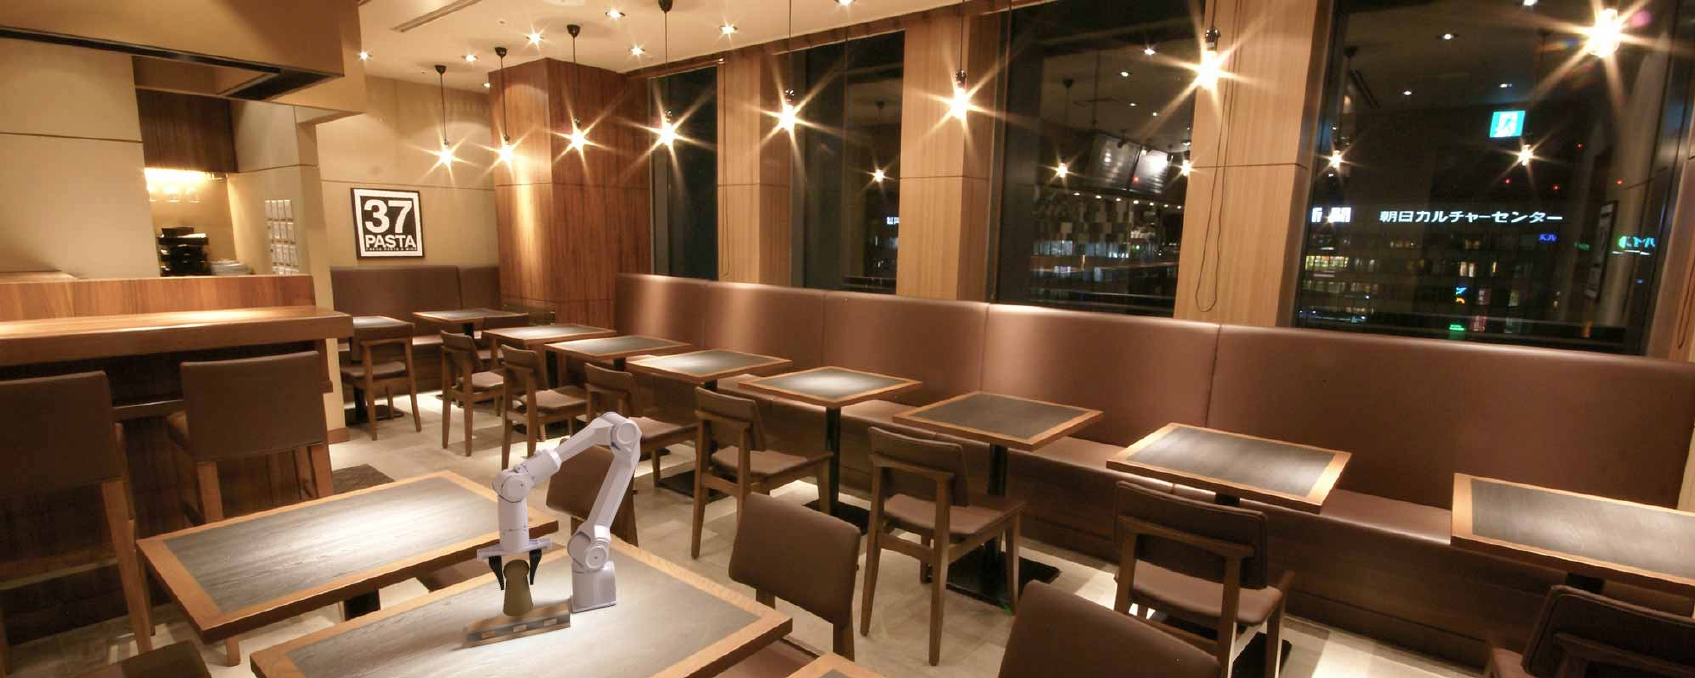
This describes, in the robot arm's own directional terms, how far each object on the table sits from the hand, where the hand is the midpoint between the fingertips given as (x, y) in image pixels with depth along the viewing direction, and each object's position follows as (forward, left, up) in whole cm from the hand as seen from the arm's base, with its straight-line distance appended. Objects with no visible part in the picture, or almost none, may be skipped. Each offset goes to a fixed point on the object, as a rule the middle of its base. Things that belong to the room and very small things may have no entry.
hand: (517, 585), depth 160 cm
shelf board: (0, 0, -9) cm, 9 cm away
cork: (0, -1, -6) cm, 6 cm away
